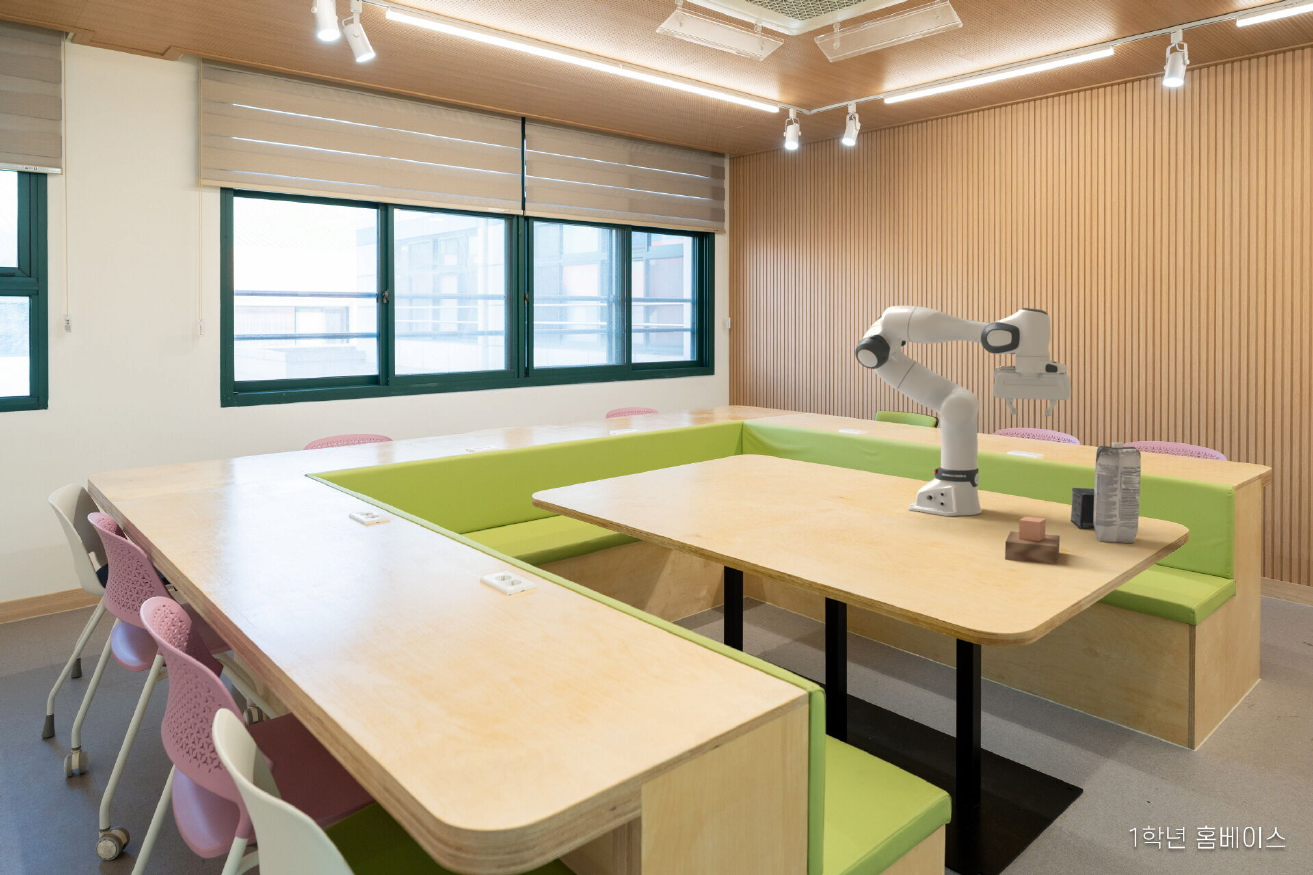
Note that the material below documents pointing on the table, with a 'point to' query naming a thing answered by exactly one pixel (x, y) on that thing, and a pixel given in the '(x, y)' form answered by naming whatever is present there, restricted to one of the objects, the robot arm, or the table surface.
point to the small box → (1083, 508)
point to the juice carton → (1117, 493)
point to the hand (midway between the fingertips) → (1030, 415)
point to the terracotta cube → (1032, 528)
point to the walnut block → (1032, 549)
